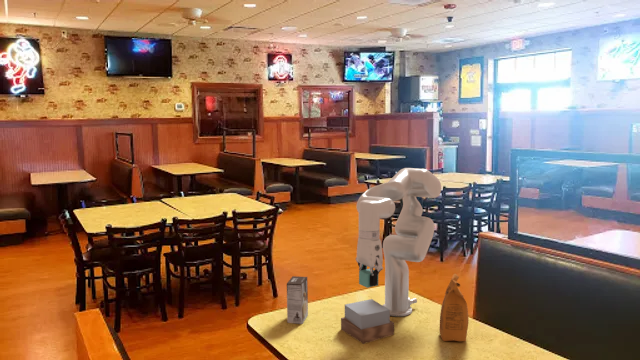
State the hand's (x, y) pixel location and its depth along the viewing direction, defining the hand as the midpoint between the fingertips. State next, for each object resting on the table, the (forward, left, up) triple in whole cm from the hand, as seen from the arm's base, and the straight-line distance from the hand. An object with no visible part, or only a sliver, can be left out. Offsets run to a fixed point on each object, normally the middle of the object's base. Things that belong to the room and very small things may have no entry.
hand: (368, 282), depth 178 cm
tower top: (0, -1, -15) cm, 15 cm away
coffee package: (-24, +19, -19) cm, 36 cm away
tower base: (0, -1, -20) cm, 20 cm away
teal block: (0, 0, -1) cm, 1 cm away
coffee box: (+16, -25, -19) cm, 35 cm away
